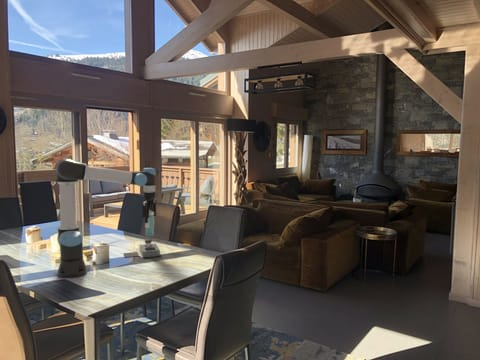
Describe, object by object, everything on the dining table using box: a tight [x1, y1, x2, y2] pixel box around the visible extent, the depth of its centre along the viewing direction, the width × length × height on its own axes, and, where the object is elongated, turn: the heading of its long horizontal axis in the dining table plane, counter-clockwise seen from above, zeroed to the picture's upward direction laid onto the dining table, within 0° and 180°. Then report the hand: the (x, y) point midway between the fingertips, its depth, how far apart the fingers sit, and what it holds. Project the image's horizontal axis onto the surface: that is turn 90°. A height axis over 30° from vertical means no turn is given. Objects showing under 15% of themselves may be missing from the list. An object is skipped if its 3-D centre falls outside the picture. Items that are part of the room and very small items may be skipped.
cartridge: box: [145, 210, 155, 237], centre depth 247 cm, size 5×5×16 cm
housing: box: [139, 243, 161, 259], centre depth 253 cm, size 17×11×4 cm, turn 22°
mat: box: [122, 251, 140, 259], centre depth 249 cm, size 9×9×1 cm
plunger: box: [144, 238, 153, 247], centre depth 257 cm, size 5×5×7 cm
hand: (149, 226), depth 247 cm, fingers closed on cartridge, 5 cm apart
